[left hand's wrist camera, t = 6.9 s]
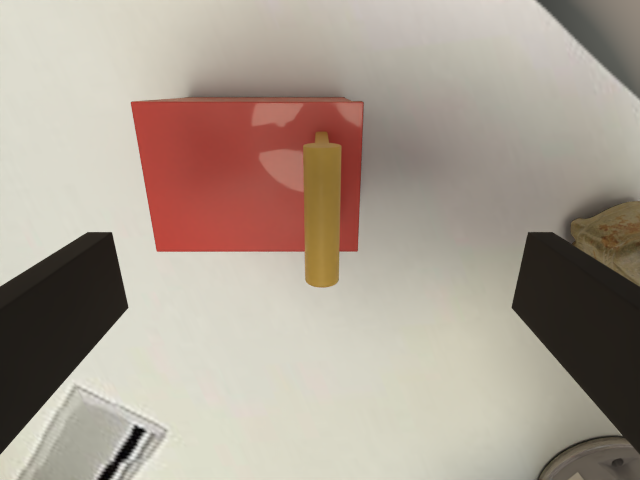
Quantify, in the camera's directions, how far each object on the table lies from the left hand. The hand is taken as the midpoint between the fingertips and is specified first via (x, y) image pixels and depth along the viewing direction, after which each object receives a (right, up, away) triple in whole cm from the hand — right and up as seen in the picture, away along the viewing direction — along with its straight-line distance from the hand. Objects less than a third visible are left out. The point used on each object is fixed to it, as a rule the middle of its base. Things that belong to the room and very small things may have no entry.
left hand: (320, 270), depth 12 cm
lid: (-4, +5, +12) cm, 14 cm away
